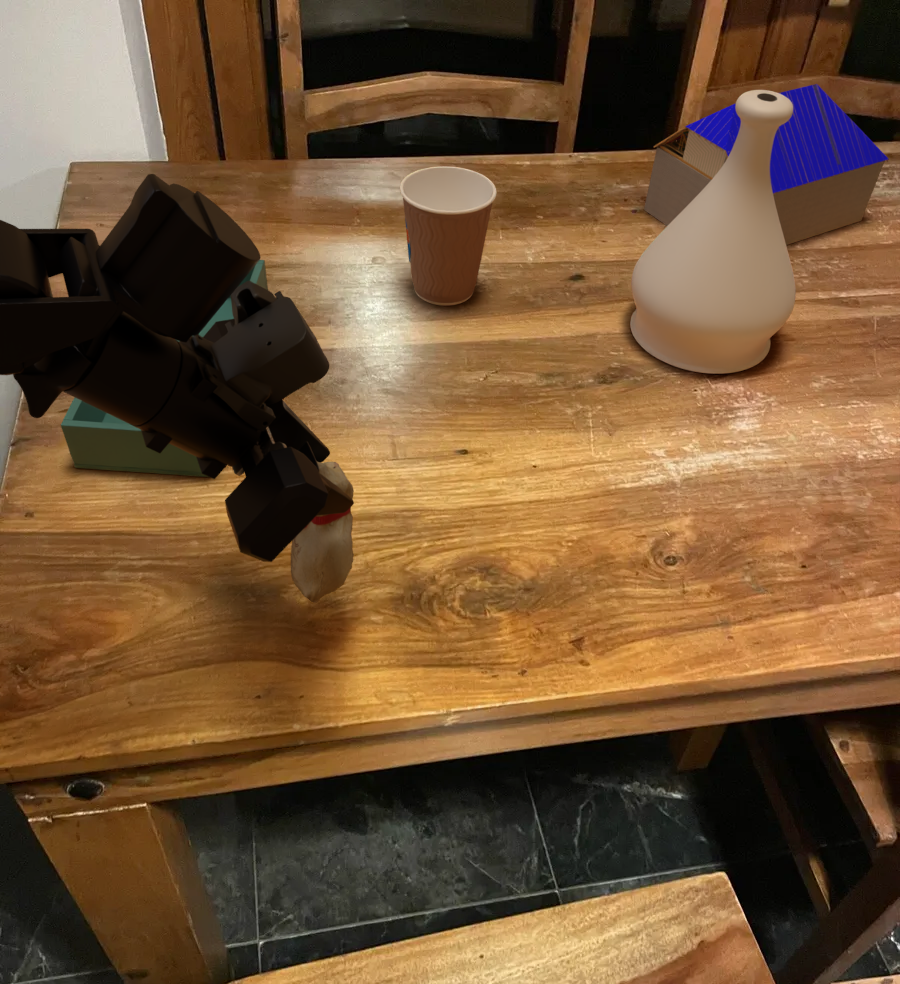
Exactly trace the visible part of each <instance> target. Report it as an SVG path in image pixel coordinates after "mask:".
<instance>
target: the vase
mask: <svg viewBox="0 0 900 984" xmlns="http://www.w3.org/2000/svg"><path fill="white" fill-rule="evenodd" d="M779 93H780V92H776V91H772V90H768V89H767V90H766V89H751V90H748V91H745V92H743V93H742V94H741V95H739V97H738V98H737V99H736V101H735V103H736V106H735V109H736V113H737V115H738V116H739V117H740V119H741V125H740V129H739V133H738V136H737V138H736V141H735V143H734V146H733V148H732V150H731V152H730V154H729V156H728V158H727V160H726V161H725V163H724V165H723V166H722V167H721V169H720V170H719V171H718V173H717V174H716V175H715V176H714V178H713V179H712V180H711V181H710V182H709V183H708V184H707V186H706V187H705V188H704V189H703V190H702V191H701V192H700V193H699V194H698V195H697V196H696V197H695V198H694V199H693V200H692V201H691V202H690V203H689V204H688V206H687V207H686V208H685V209H684V210H683V211H682V212H681V213H680V214H679V215H678V216H677V217H676V218H675V219H674V220H673V221H672V222H671V223H670V224H669V225H668V226H667V225H666V226H665V228H664V229H662V231H661V232H660V233H659V234H658V235H657V236H655V238H654V239H653V240H652V241H651V242H650V243H649V245H648V246H647V247H646V248H645V249H644V250H643V252H642V253H641V255H640V256H639V257H638V259H637V261H636V263H635V265H634V267H633V270H632V274H631V281H630V286H631V294H632V298H633V302H634V304H635V308H636V309H634V311H633V312H632V315H631V317H630V323H629V324H630V330H631V331H630V332H631V333H632V336H633V337H634V339H635V341H636V342H637V343H638V345H639V346H640V347H641V348H642V349H643V350H645V352H647V353H649V354H650V355H651V356H652V357H655V358H656V359H658V360H660V361H662V362H664V363H666V364H668V365H671V366H673V367H676V368H678V369H683V370H685V371H689V372H696V373H703V374H712V375H713V374H714V375H715V374H719V375H720V374H732V373H738V372H741V371H744V370H748V369H750V368H753V367H755V366H756V365H758V364H759V363H761V362H763V360H764V359H765V358H766V357H767V355H768V353H769V352H770V349H771V338H772V336H774V335H775V334H776V333H777V332H778V331H779V330H781V329H782V327H783V326H784V325H785V324H786V323H787V322H788V320H789V318H790V316H791V315H792V312H793V310H794V308H795V305H796V297H797V296H796V295H797V289H796V280H795V275H794V270H793V265H792V262H791V258H790V254H789V251H788V246H787V245H786V243H785V239H784V236H783V232H782V228H781V225H780V221H779V217H778V213H777V209H776V205H775V201H774V196H773V192H772V186H771V179H770V158H771V152H772V146H773V141H774V137H775V134H776V131H777V129H778V128H779V126H781V125H782V124H784V123H786V122H787V121H788V120H789V119H790V118H791V116H792V113H793V104H792V102H791V101H790V100H789V99H788V98H787V97H785V96H784V95H782V94H779Z"/></svg>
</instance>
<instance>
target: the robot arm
mask: <svg viewBox="0 0 900 984" xmlns="http://www.w3.org/2000/svg"><path fill="white" fill-rule="evenodd" d="M261 257H262V256H261V253H260V251H259V249H258V247H257V246H256V244H255V242H254V241H253V240H252V239H251V238H250V236H249V235H248V234H247V233H246V232H245V231H244V229H243V228H242V227H241V226H240V225H239V224H238V223H237V222H236V221H235V220H234V219H233V218H232V217H231V216H230V215H229V214H228V213H227V212H225V211H224V210H223V209H222V208H221V206H220V207H219V206H218V205H217V204H216V203H215V202H213V200H211V199H210V198H209V197H207V196H206V195H205V194H203V193H202V192H201V191H199V190H196V191H195V192H194V191H192V190H191V189H189V188H188V187H185V186H183V185H181V184H178V183H171V184H168V183H167V182H166V181H164V180H163V179H162V178H160V177H159V176H157V175H156V174H155V173H149V174H147V175H146V177H144V179H143V180H142V181H141V183H140V184H139V186H138V187H137V188H136V190H135V192H134V194H133V196H132V200H131V202H130V204H129V205H128V208H127V209H126V210H125V212H124V213H123V214H122V215H121V217H119V220H118V221H117V222H116V224H115V225H114V226H113V228H111V231H110V232H109V233H108V235H107V236H106V237H105V239H104V240H103V241H102V242H101V244H99V241H98V237H97V234H96V232H95V231H94V230H93V229H91V228H19V227H18V226H17V225H14V224H11V223H9V222H7V221H4V220H2V219H0V376H11V375H12V376H13V379H14V380H15V382H16V383H18V386H19V387H20V389H21V390H22V393H23V395H24V398H25V402H26V404H27V409H28V414H29V416H30V417H32V418H33V419H41V418H42V417H43V416H45V414H46V413H47V411H48V410H49V409H50V407H51V406H52V405H53V404H54V402H55V401H56V400H57V398H58V397H59V396H60V395H61V394H62V393H65V394H67V395H69V396H71V397H73V398H77V399H79V400H81V401H83V402H85V403H88V404H90V405H92V406H94V407H96V408H98V409H100V410H102V411H104V412H106V413H108V414H110V415H112V416H114V417H116V418H118V419H120V420H122V421H125V422H127V423H129V424H130V425H132V426H134V427H136V428H138V429H140V430H141V432H142V435H143V439H144V442H145V446H146V447H147V448H149V449H151V450H153V451H156V452H158V453H161V452H162V451H163V450H164V448H165V447H166V446H167V445H168V444H171V445H173V446H175V447H178V448H180V449H182V450H184V451H186V452H188V453H190V454H192V455H194V456H196V458H197V461H198V464H199V467H200V470H201V473H202V474H204V475H206V476H208V477H207V478H210V479H213V480H215V479H217V477H218V476H219V475H220V474H221V473H222V472H223V471H224V470H225V468H227V467H228V466H229V467H230V468H232V472H233V474H234V475H235V476H238V477H241V476H242V475H243V474H244V475H245V477H244V479H243V480H241V482H240V483H238V485H237V486H236V487H235V488H234V489H233V490H232V492H230V494H229V495H228V496H227V497H226V498H225V499H224V504H225V510H226V515H227V518H228V521H229V524H230V527H231V530H232V532H233V536H234V538H235V539H234V540H235V541H236V544H237V547H238V550H239V552H240V553H241V554H244V555H246V556H249V557H251V558H253V559H256V560H259V561H261V562H263V563H272V562H273V561H274V560H275V559H277V557H278V556H279V555H280V554H281V553H283V551H284V550H286V548H287V547H288V546H289V545H290V544H291V543H292V540H293V539H294V538H295V537H296V536H297V535H298V534H299V533H300V532H301V531H302V530H303V529H304V528H305V527H306V526H307V525H308V524H309V523H310V522H311V521H312V520H313V519H314V518H315V517H316V516H318V515H328V514H337V513H345V512H346V511H347V510H348V509H349V508H350V507H351V508H352V507H353V505H354V504H355V501H354V500H353V498H351V497H350V496H348V495H347V494H346V493H345V492H344V491H343V490H341V489H340V488H339V487H338V486H336V485H335V484H334V483H332V482H331V481H330V480H328V479H327V478H326V477H324V476H323V475H322V474H320V470H319V465H318V463H317V462H321V463H324V462H325V460H327V458H328V457H330V455H331V451H330V449H329V447H327V445H326V444H325V443H324V442H322V440H321V439H320V438H319V437H318V436H317V435H316V434H315V433H314V432H313V431H312V430H311V429H310V428H309V426H307V424H305V422H303V420H302V419H301V418H300V417H299V415H297V414H296V413H295V412H294V410H293V409H291V408H290V406H289V405H288V404H287V403H286V402H285V401H284V399H285V398H287V397H288V396H291V394H293V393H296V392H297V391H299V390H300V389H302V388H304V387H305V386H307V385H308V384H315V383H316V382H319V381H321V379H323V378H324V377H325V376H326V375H327V374H328V372H329V370H330V362H329V360H328V358H327V356H326V354H325V352H324V351H323V349H322V347H321V344H320V342H319V341H318V339H317V336H316V335H315V334H314V332H313V330H312V328H311V327H310V326H309V324H308V322H307V321H306V320H305V318H304V317H303V314H302V313H301V312H300V310H299V308H298V307H297V306H296V304H295V302H294V301H293V300H292V298H290V297H289V296H284V294H283V293H282V291H281V290H278V291H277V292H274V293H273V292H272V291H270V290H269V289H268V290H267V289H265V288H263V287H261V286H259V285H257V284H255V283H253V282H251V281H247V282H245V283H243V284H242V285H240V286H239V284H240V283H241V282H242V281H243V280H244V278H245V277H246V276H247V275H248V273H249V272H250V271H251V270H252V269H253V267H254V266H255V265H256V264H257V263H258V261H259V260H261ZM61 274H62V277H63V280H64V285H65V288H66V292H67V296H54V295H53V291H52V287H51V286H52V285H51V282H50V278H53V277H55V276H58V275H61ZM230 295H231V303H232V313H233V317H234V319H229V320H223V321H217V322H215V323H214V325H213V326H212V327H211V328H210V329H209V331H208V332H207V333H206V334H205V336H204V337H201V336H200V335H198V334H199V333H200V332H201V331H202V329H203V328H204V327H205V326H206V324H207V323H208V322H209V321H210V320H211V318H212V317H213V316H214V315H215V314H216V312H217V311H218V310H219V309H220V307H221V306H222V305H223V304H224V303H225V301H226V300H227V299H228V298H229V297H230ZM175 339H176V340H175ZM177 340H178V341H177ZM179 341H180V342H179Z"/></svg>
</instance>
